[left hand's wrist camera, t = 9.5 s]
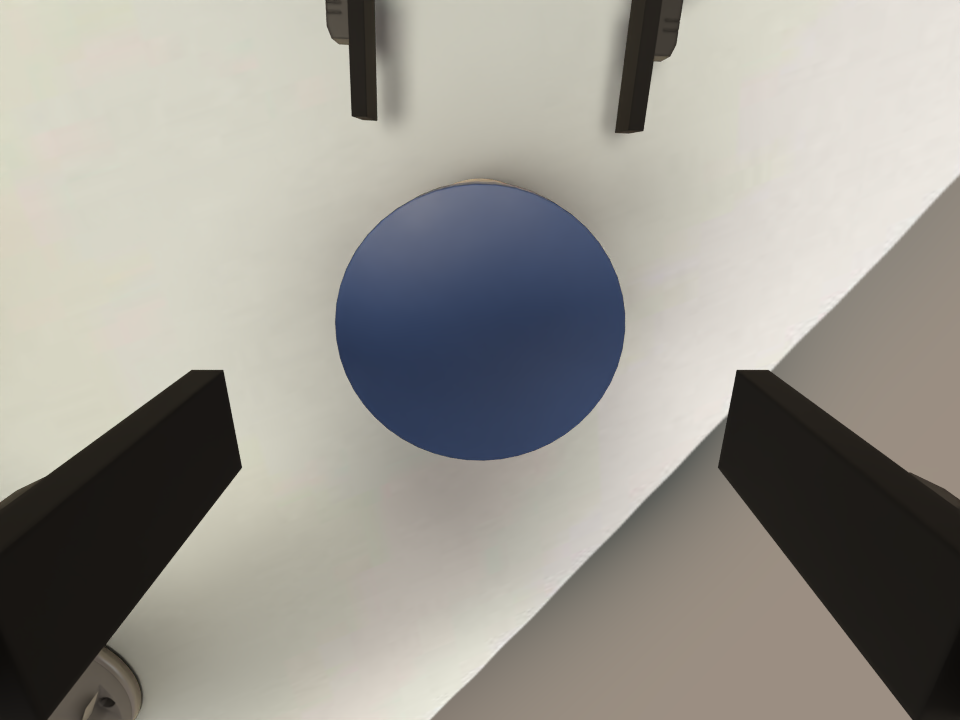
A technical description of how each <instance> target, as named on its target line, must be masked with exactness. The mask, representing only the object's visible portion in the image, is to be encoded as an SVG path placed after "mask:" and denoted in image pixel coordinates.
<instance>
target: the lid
mask: <svg viewBox="0 0 960 720" xmlns="http://www.w3.org/2000/svg"><path fill="white" fill-rule="evenodd" d="M335 326H336V340H337V345H338V350H339V355H340V359H341V362H342V364H343V367H344V370H345V373H346V375H347V377H348V379H349V381H350V383H351V385H352V387H353V389H354V391H355V392H356V394H357V395H358V397H359V398H360V400H361V401H362V403H363V404H364V405H365V407H366V408H367V409H368V410H369V411H370V412H371V413H372V414H373V416H374V417H375V418H376V419H377V420H379V421H380V422H381V423H382V424H383V425H384V426H385V427H386V428H388V429H389V430H390V431H392V432H393V433H395V434H396V435H397V436H399V437H400V438H402V439H404V440H405V441H407V442H409V443H411V444H413V445H415V446H417V447H419V448H422V449H424V450H427V451H429V452H432V453H435V454H439V455H442V456H446V457H450V458H457V459H464V460H496V459H504V458H509V457H514V456H519V455H522V454H525V453H528V452H531V451H534V450H537V449H539V448H541V447H543V446H545V445H548V444H550V443H552V442H553V441H555V440H557V439H558V438H560V437H562V436H563V435H565V434H566V433H567V432H569V431H570V430H571V429H573V428H574V427H575V426H576V425H578V424H579V423H580V422H581V421H582V420H583V419H584V418H585V417H586V416H587V415H588V414H589V413H590V412H591V411H592V409H593V408H594V407H595V406H596V404H597V403H598V402H599V400H600V399H601V398H602V396H603V395H604V393H605V391H606V390H607V388H608V386H609V385H610V383H611V381H612V378H613V376H614V374H615V371H616V369H617V367H618V363H619V360H620V356H621V353H622V349H623V342H624V335H625V310H624V302H623V295H622V291H621V288H620V284H619V281H618V277H617V275H616V273H615V270H614V268H613V266H612V264H611V261H610V259H609V258H608V256H607V254H606V253H605V251H604V250H603V248H602V246H601V245H600V243H599V242H598V241H597V240H596V238H595V237H594V236H593V235H592V234H591V232H590V231H589V230H588V229H587V228H586V227H585V226H584V225H583V224H582V223H581V222H580V221H578V220H577V219H576V218H575V217H574V216H573V215H572V214H570V213H569V212H567V211H566V210H564V209H563V208H561V207H560V206H558V205H557V204H555V203H554V202H552V201H550V200H549V199H547V198H544V197H542V196H540V195H538V194H536V193H534V192H532V191H529V190H526V189H523V188H520V187H517V186H514V185H509V184H503V183H497V182H480V181H474V182H464V183H456V184H452V185H448V186H444V187H440V188H437V189H434V190H432V191H429V192H427V193H424V194H422V195H420V196H418V197H416V198H414V199H413V200H411V201H409V202H407V203H406V204H404V205H402V206H401V207H399V208H397V209H396V210H395V211H393V212H392V213H391V214H389V215H388V216H387V217H386V218H384V219H383V220H382V221H381V222H380V223H379V224H378V225H377V226H376V227H375V228H374V229H373V230H372V231H371V232H370V233H369V234H368V235H367V236H366V238H365V239H364V240H363V242H362V243H361V244H360V246H359V247H358V249H357V250H356V251H355V253H354V255H353V257H352V259H351V261H350V263H349V265H348V266H347V269H346V271H345V274H344V277H343V280H342V282H341V285H340V289H339V294H338V299H337V304H336V318H335Z"/></svg>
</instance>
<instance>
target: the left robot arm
mask: <svg viewBox="0 0 960 720" xmlns="http://www.w3.org/2000/svg"><path fill="white" fill-rule="evenodd" d="M241 468H242V465H241V460H240V455H239V449H238V444H237V439H236V434H235V429H234V423H233V418H232V413H231V408H230V402H229V397H228V392H227V387H226V382H225V376H224V371H223V370H191V371H190V372H188V373H187V374H186V375H184V376H183V377H181V378H180V379H179V380H177V381H176V382H175V383H173V384H172V385H170V386H169V387H168V388H166V389H165V390H164V391H162V392H161V393H160V394H158V395H157V396H155V397H154V398H153V399H151V400H150V401H149V402H147V403H146V404H144V405H143V406H142V407H140V408H139V409H138V410H136V411H135V412H134V413H132V414H131V415H129V416H128V417H127V418H125V419H124V420H123V421H121V422H120V423H119V424H117V425H116V426H114V427H113V428H112V429H110V430H109V431H108V432H106V433H105V434H103V435H102V436H101V437H99V438H98V439H97V440H95V441H94V442H93V443H91V444H90V445H88V446H87V447H86V448H84V449H83V450H82V451H80V452H79V453H77V454H76V455H75V456H73V457H72V458H71V459H69V460H68V461H67V462H65V463H64V464H62V465H61V466H60V467H58V468H57V469H56V470H54V471H53V472H52V473H50V474H49V475H47V476H46V477H44V478H42V479H40V480H38V481H36V482H34V483H31V484H29V485H27V486H25V487H23V488H21V489H19V490H17V491H15V492H14V493H13V494H11V495H10V496H8V497H7V498H6V499H4V500H3V501H1V502H0V720H135V718H136V716H137V715H138V713H139V710H140V707H141V691H140V687H139V684H138V682H137V680H136V678H135V676H134V674H133V673H132V671H131V670H130V669H129V668H128V666H127V665H126V664H125V663H124V662H123V661H122V660H121V659H120V658H119V657H118V656H117V655H115V654H114V653H113V652H111V651H110V650H109V649H107V648H106V647H104V646H105V645H106V643H107V642H108V641H109V639H110V638H111V637H112V635H113V634H114V633H115V632H116V630H117V629H118V628H119V626H120V625H121V624H122V623H123V621H124V620H125V619H126V617H127V616H128V615H129V613H130V612H131V611H132V610H133V608H134V607H135V606H136V604H137V603H138V602H139V600H140V599H141V598H142V597H143V595H144V594H145V593H146V591H147V590H148V589H149V588H150V586H151V585H152V584H153V582H154V581H155V580H156V578H157V577H158V576H159V575H160V573H161V572H162V571H163V569H164V568H165V567H166V565H167V564H168V563H169V562H170V560H171V559H172V558H173V556H174V555H175V554H176V553H177V551H178V550H179V549H180V547H181V546H182V545H183V543H184V542H185V541H186V540H187V538H188V537H189V536H190V534H191V533H192V532H193V530H194V529H195V528H196V527H197V525H198V524H199V523H200V521H201V520H202V519H203V518H204V516H205V515H206V514H207V512H208V511H209V510H210V508H211V507H212V506H213V505H214V503H215V502H216V501H217V499H218V498H219V497H220V495H221V494H222V493H223V492H224V490H225V489H226V488H227V486H228V485H229V484H230V483H231V481H232V480H233V479H234V477H235V476H236V475H237V473H238V472H239V471H240V470H241ZM718 468H719V469H720V471H721V472H722V473H723V475H724V476H725V477H726V479H727V480H728V481H729V483H730V484H731V485H732V486H733V488H734V489H735V490H736V492H737V493H738V494H739V495H740V497H741V498H742V499H743V501H744V502H745V503H746V504H747V506H748V507H749V508H750V510H751V511H752V512H753V514H754V515H755V516H756V517H757V519H758V520H759V521H760V523H761V524H762V525H763V527H764V528H765V529H766V530H767V532H768V533H769V534H770V536H771V537H772V538H773V540H774V541H775V542H776V543H777V545H778V546H779V547H780V549H781V550H782V551H783V553H784V554H785V555H786V556H787V558H788V559H789V560H790V562H791V563H792V564H793V565H794V567H795V568H796V569H797V571H798V572H799V573H800V575H801V576H802V577H803V578H804V580H805V581H806V582H807V584H808V585H809V586H810V588H811V589H812V590H813V591H814V593H815V594H816V595H817V597H818V598H819V599H820V600H821V602H822V603H823V604H824V606H825V607H826V608H827V609H828V611H829V612H830V613H831V615H832V616H833V617H834V619H835V620H836V621H837V622H838V624H839V625H840V626H841V628H842V629H843V630H844V632H845V633H846V634H847V635H848V637H849V638H850V639H851V641H852V642H853V643H854V645H855V646H856V647H857V648H858V650H859V651H860V652H861V654H862V655H863V656H864V657H865V659H866V660H867V661H868V663H869V664H870V665H871V667H872V668H873V669H874V670H875V672H876V673H877V674H878V676H879V677H880V678H881V679H882V681H883V682H884V683H885V685H886V686H887V687H888V689H889V690H890V691H891V692H892V694H893V695H894V696H895V698H896V699H897V700H898V701H899V703H900V704H901V705H902V707H903V708H904V709H905V711H906V712H907V713H908V715H909V716H910V717H911V718H912V720H960V500H959V499H958V498H957V497H955V496H954V495H952V494H951V493H950V492H948V491H947V490H945V489H944V488H942V487H939V486H937V485H935V484H933V483H931V482H929V481H927V480H925V479H923V478H921V477H919V476H917V475H914V474H912V473H908V472H907V471H906V470H904V469H903V468H902V467H900V466H899V465H897V464H896V463H895V462H893V461H892V460H891V459H889V458H888V457H887V456H885V455H884V454H883V453H881V452H880V451H878V450H877V449H876V448H874V447H873V446H872V445H870V444H869V443H867V442H866V441H865V440H863V439H862V438H861V437H859V436H858V435H857V434H855V433H854V432H852V431H851V430H850V429H848V428H847V427H846V426H844V425H843V424H841V423H840V422H839V421H837V420H836V419H835V418H833V417H832V416H830V415H829V414H828V413H826V412H825V411H824V410H822V409H821V408H820V407H818V406H817V405H815V404H814V403H813V402H811V401H810V400H809V399H807V398H806V397H804V396H803V395H802V394H800V393H799V392H798V391H796V390H795V389H794V388H792V387H791V386H790V385H788V384H787V383H785V382H784V381H783V380H781V379H780V378H779V377H777V376H776V375H774V374H773V373H772V372H770V371H769V370H737V371H736V376H735V382H734V387H733V392H732V397H731V402H730V408H729V413H728V418H727V423H726V429H725V434H724V439H723V444H722V449H721V455H720V460H719V465H718Z"/></svg>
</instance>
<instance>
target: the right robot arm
mask: <svg viewBox="0 0 960 720" xmlns="http://www.w3.org/2000/svg"><path fill="white" fill-rule="evenodd" d="M682 5H683V0H632V4H631V12H630V20H629V28H628V35H627V43H626V51H625V59H624V67H623V74H622V82H621V90H620V98H619V106H618V113H617V121H616V129H615V133H634V132H640V131H643V130H644V123H645V117H646V110H647V103H648V96H649V89H650V82H651V75H652V69H653V62H654V61H660V62H661V61H663V60H665V59H666V58H668V57H670V56H671V54H672V52H673V50H674V48H675V46H676V43H677V36H678V30H679V24H680V17H681V11H682ZM326 20H327V28H328V30H329V33H330V35H331V38H332V39H333V40H334V41H336V42H337V43H338V44H343V45H349V58H350V84H351V110H352V116H353V117H356V118H359V119H362V120H373V121H377V87H376V43H375V0H326Z"/></svg>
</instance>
